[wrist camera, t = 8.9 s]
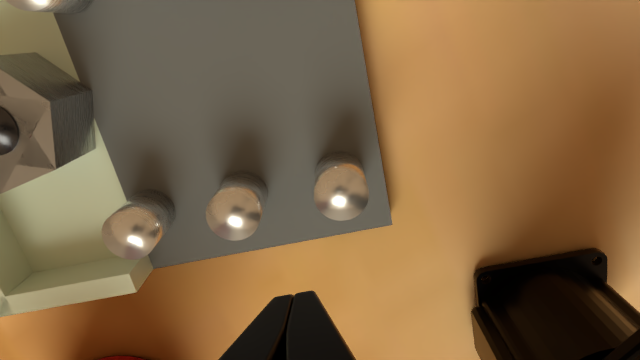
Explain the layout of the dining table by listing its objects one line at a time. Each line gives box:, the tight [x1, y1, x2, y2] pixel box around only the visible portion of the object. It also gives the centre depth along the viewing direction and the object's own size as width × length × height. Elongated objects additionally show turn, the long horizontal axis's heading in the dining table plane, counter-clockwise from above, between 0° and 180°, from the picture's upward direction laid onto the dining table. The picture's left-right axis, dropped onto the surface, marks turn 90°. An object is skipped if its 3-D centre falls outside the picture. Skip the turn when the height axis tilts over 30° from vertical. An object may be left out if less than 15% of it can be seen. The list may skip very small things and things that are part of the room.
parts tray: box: [0, 0, 153, 317], centre depth 18 cm, size 7×16×3 cm, turn 12°
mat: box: [53, 0, 392, 269], centre depth 18 cm, size 12×16×1 cm
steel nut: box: [0, 52, 96, 194], centre depth 17 cm, size 5×4×3 cm
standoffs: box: [5, 0, 369, 260], centre depth 17 cm, size 11×12×3 cm
